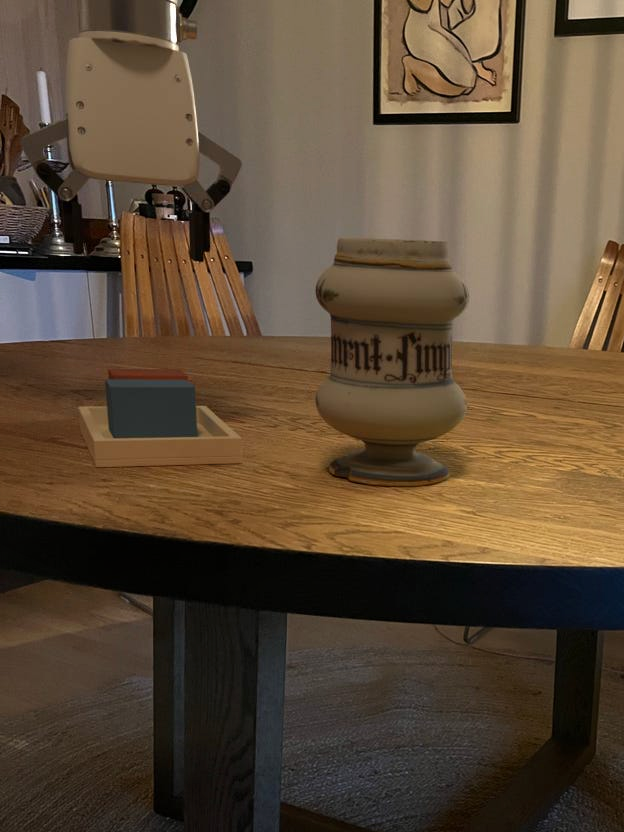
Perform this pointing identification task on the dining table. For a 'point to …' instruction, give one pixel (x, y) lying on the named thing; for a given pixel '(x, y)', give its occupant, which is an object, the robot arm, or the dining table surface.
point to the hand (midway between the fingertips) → (139, 257)
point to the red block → (147, 374)
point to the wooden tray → (160, 443)
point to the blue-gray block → (151, 408)
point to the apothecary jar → (391, 356)
